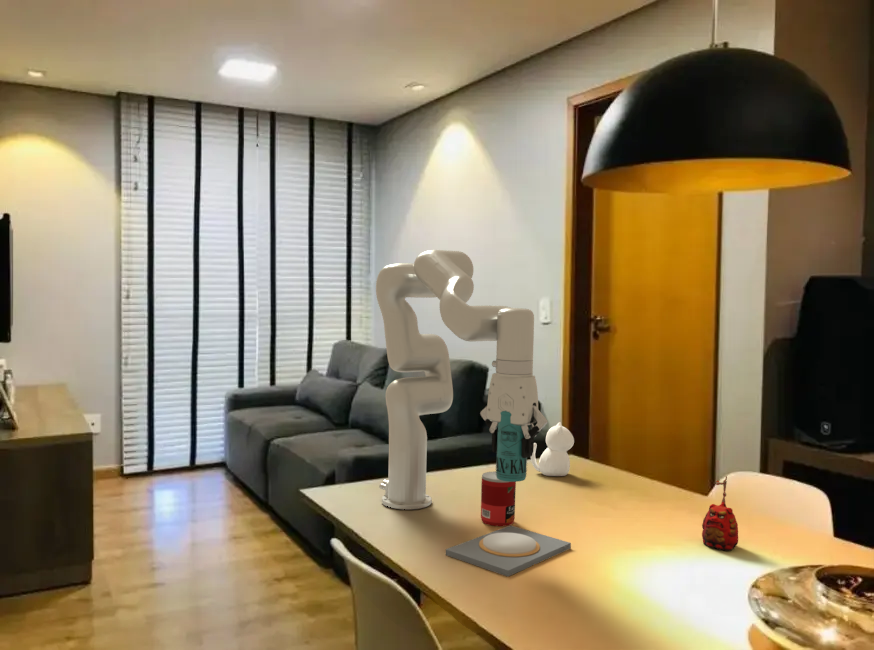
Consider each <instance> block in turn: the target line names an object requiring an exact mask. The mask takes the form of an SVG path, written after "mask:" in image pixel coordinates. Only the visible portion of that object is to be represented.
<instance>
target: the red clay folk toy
mask: <svg viewBox="0 0 874 650" xmlns="http://www.w3.org/2000/svg"><path fill="white" fill-rule="evenodd" d="M727 479H728V476H727V475H725V478H724V480H723V482H721V481H719V480H716V481H715V482H716V484H715V485H716V486H720V485H722V486H723V492H722V496H723V497H722V500H721V503H720V504H719V505H718V504H715V503H712V504H710V505H709V508H708V511H707V512H706V513H705V516H704V518H703V521H702V523H701V526H702V532H701V537H702V543H703V545H706V546H707V547H711V548H715V549H716V550H718V551H726V552H727V551H729V552H731V551H732V550H733V549H734V548H736V547H737V546H738V543H739V527H738V526H739V525H738V521H737V519H736V515H735V514H734V512H733V508H731V507H727V505H726V497H727V493H726V489H727V484H728V483H727V482H728V480H727Z"/></svg>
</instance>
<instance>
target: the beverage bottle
mask: <svg viewBox="0 0 874 650" xmlns="http://www.w3.org/2000/svg"><path fill="white" fill-rule="evenodd" d="M500 414H501V422H498V436H497V443H496V444H497V446H496V448H497V449H496V451H497V452H496V461H495V472H496V476H497V479H499V480H502V481H508V482H516V483H517V482H522V481H525V480H526V477H527V471H528V469H527V466H528V458H529V457H527V458H522V439H523V438H525V436H524V433H523V431H522V428H521V426H518V425H513V424H511V413H510V412H507V411H502V412H501V413H500Z"/></svg>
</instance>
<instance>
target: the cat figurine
mask: <svg viewBox="0 0 874 650" xmlns="http://www.w3.org/2000/svg"><path fill="white" fill-rule="evenodd" d="M545 443H546V446H547V447H546V449H544V451H542V454H541V455H540V457H539V461H538V462H537V459H536V451H537V446H538V445H537V443H536V442H534V450H533V453H532V456H530V461H531V464H532V467H533V468H534V469H535V470H536V471H537V472H540V473H541V474H542V475H544V476H547V477H565V476H568V474H569V472H570V470H571V469H570V468H571V460H570V456H569V454H568V451H569V450H570V449H571V448H572V447H573V446H574V443H575V438H574V435H573V433H572V432H571V431H570V430H569V429H568V428H567V427H565V426H563V425H562V422H561V421H559V422H558V423H556V424H555V425H553V426H552V427H550V428H549V429H548V430H547V432H546V436H545Z"/></svg>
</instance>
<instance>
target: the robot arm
mask: <svg viewBox="0 0 874 650" xmlns="http://www.w3.org/2000/svg"><path fill="white" fill-rule="evenodd" d="M473 275H474V264H473V262H472V259H471V258H470V256H468V254H466V253H465V252H462V251H460V250H446V249H430V250H426V251H423V252H421V253H420V254H418V256H417V257H416V258H415V260H414V262H413V263H410V262H409V263H406V262H405V263H404V262H399V263H393V264H388V265H385V266H384V267H383V268H381V270H380V271H379V272H378V274H377V277H376V281H375V293H376V295H375V296H376V300H377V304H378V307H379V309H380V313H381V316H382V320H383V326H384V327H383V329H384V339H385V346H386V354H387V355H386V356H387V361H388V364H389V365H388V366H389V367H390V369H391V370H393V371H394V372H398V373H417V372H420V373H421V372H424V375H425V376H409V377H403V378H402V377H401V378H398V379H395V380H393V381H392V382H391V383H389V384H388V386H387V388H386V390H385V404H386V411H387V417H388V418H387V419H388V478H387V479H384V480H383V481H382V482H381V483H380V484H379V487H378V488H379V489H380V490H384V491H385V492H384V495H382V496H381V503H382V505H384V506H385V507H387V506H388V507H387V508H390V507H391V508H390V509H395V510H396V509H397V510H404V509H405V511H406V510H409V511H410V510H419V509H425V508H427V507H429V506H431V504H432V502H433V501H432V500H433V499H432V497H431V496H430V495H429V494H427V457H428V456H427V451H428V435H427V434H428V433H427V430H426V427H425V425H424V423H423V422H422V421H421V419H420V416H424V415H430V414H431V415H432V414H440V413H444V412H447V411H448V410H449V409H450V408H451V406H452V404H453V400H454V389H453V387H454V386H453V379H452V371H451V361H450V354H449V349H448V346H447V344H446V342H445V341H444V339H443V338H442V336H439V335H437V334H435V333H434V334H433V333H420V330H419V325H418V323H419V322H418V317H417V315H416V312H415V310H414V309H413V307H412V305H410V303H409V302H408V301H407V300H406V299H407V298H423V299H424V298H437V299H438V300H439V313H440V317H441V320H442V323H443V324H444V326H446V327H447V328H448V329H449V330H450V331H451V332H452V334H454V335H455V336H457V338H459V339H461V340H463V341H465V342H496V351H495V352H496V358H495V360H493V361H492V362H491V366H492V367H493V368H495V373H492V374H491V378H490V382H489V388H488V392H487V393H488V395H487V405H486V406H485V407H484V408H483V409H482V410H480V413H479V414H480V416H481V418H482V419H483V420H484V421H485V425H486V426H487V427H488V428H489V429H488V430H489V432H490V433H491V449H492V450H491V451H492V453H494V454H495V453H496V452H497V451H496V449H497V448H496V446H497V444H496V443H497V436H498V422H501V414H500V413H501V412H502V411H507V412H510V413H511V424H513V425H518V426H521V428H522V431H523V433H524V436H525V438H523V439H522V458H527V457H528V458H529V457H530V456H532V453H533V450H534V443H535V442H534V441H535V440H534V439H535V438H536V437H537V435H538V434H539V433H540V432H542V429H544V428H545V427H546V426H547V425H548V420H547V418H546V417H545V416H544V415H543V413H542V412H541V411H540V410H539V395H538V393H539V392H538V385H537V380H536V376H535V375H533V373H534V371H533V369H534V368H533V367H534V337H535V336H534V335H535V331H534V330H535V314H534V312H533V310H531V309H529V308H519V307H510V306H507V305H469V304H467V303H468V301H469V300H470V299H471V298H472V296H473V293H474V287H475V284H474V281H473V279H472V278H473ZM535 423H536V424H535ZM534 424H535V425H534ZM496 454H497V453H496ZM530 458H531V457H530Z"/></svg>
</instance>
